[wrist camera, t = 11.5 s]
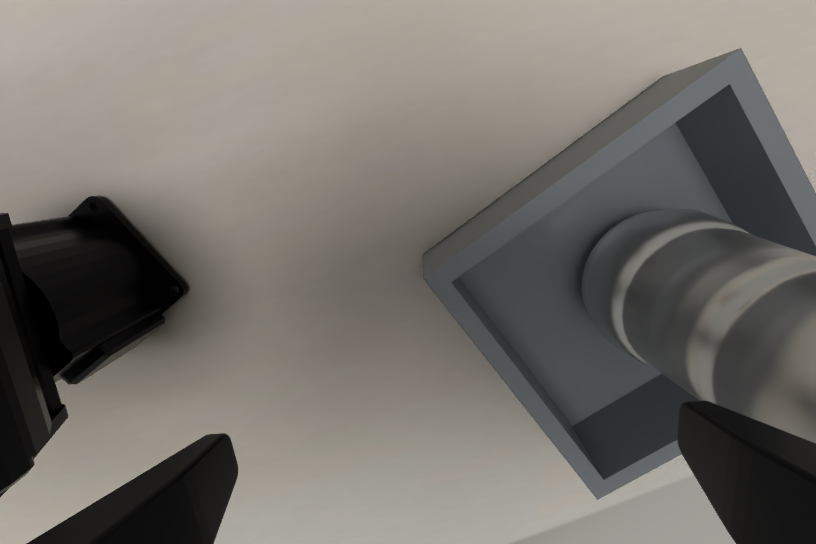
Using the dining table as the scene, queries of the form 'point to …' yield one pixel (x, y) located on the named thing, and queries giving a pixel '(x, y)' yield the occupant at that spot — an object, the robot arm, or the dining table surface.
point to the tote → (582, 229)
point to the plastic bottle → (711, 312)
